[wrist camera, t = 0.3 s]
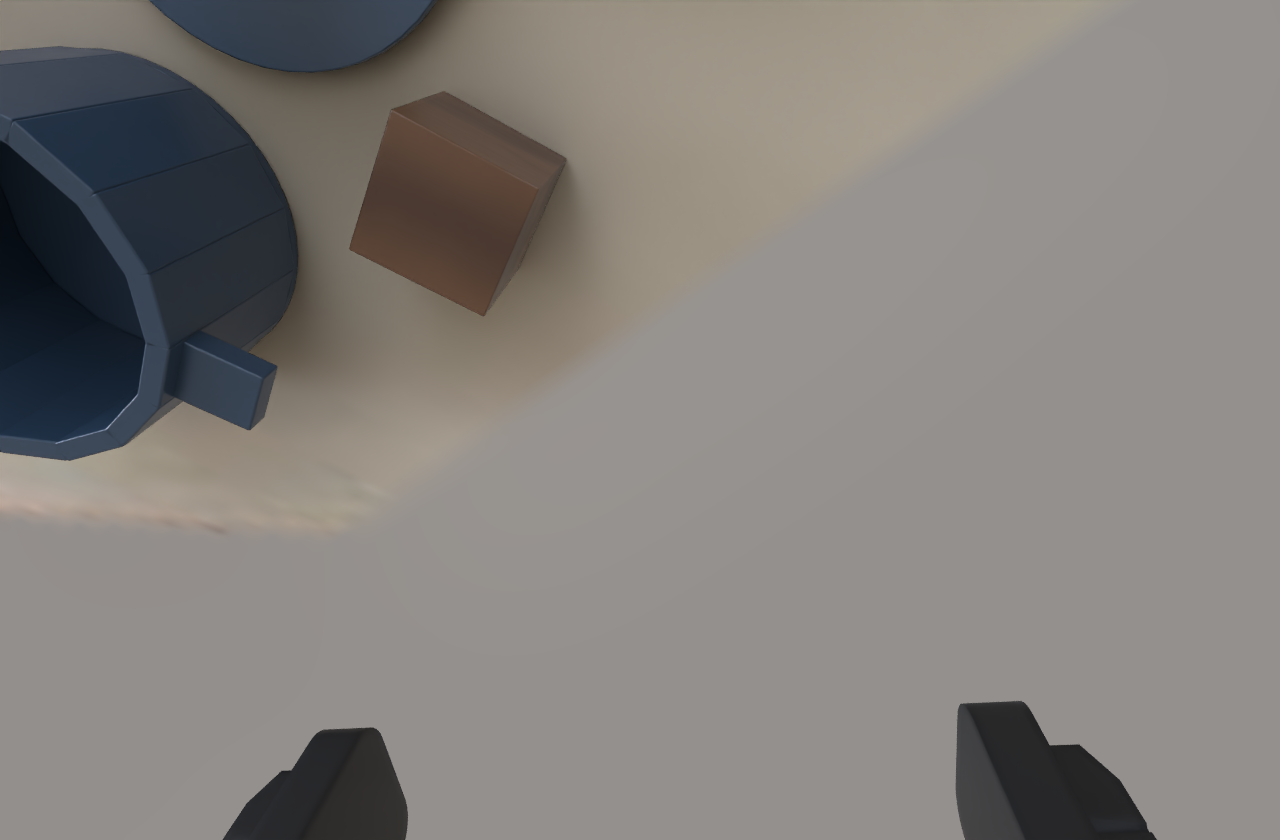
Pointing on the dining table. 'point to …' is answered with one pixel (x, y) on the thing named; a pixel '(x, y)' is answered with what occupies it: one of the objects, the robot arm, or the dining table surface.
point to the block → (454, 199)
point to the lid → (298, 29)
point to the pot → (129, 253)
